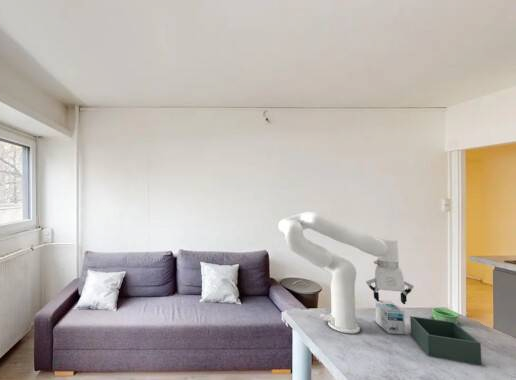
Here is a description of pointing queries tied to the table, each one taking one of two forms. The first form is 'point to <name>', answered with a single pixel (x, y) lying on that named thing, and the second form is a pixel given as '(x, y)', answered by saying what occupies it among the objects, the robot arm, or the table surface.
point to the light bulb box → (390, 317)
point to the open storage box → (445, 340)
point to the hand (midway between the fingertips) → (389, 301)
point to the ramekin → (445, 315)
